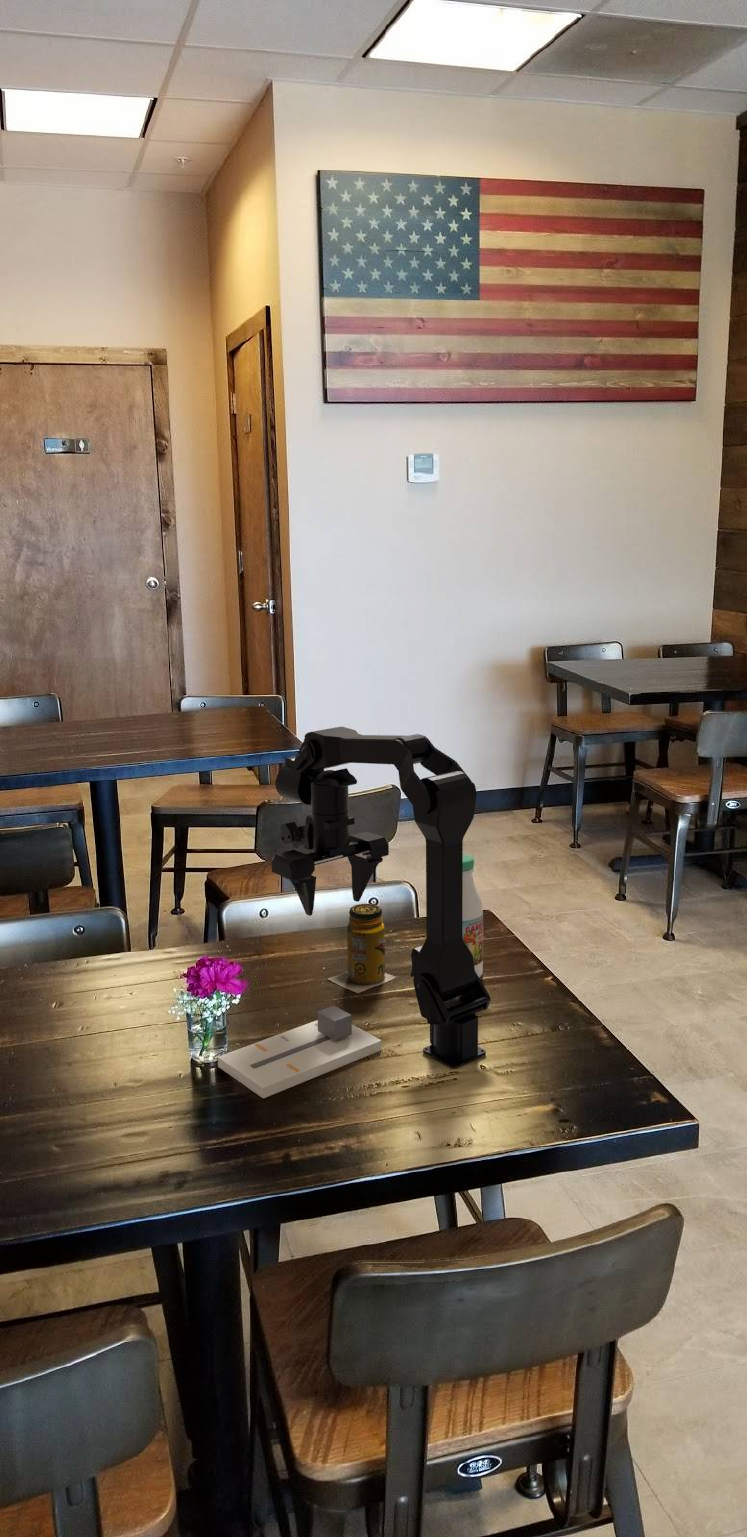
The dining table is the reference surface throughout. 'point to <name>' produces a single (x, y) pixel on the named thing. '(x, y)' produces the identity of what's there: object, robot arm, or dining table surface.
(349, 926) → the condiment
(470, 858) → the milk bottle
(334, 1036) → the fader
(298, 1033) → the console
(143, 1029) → the dining table surface
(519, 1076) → the dining table surface
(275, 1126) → the dining table surface
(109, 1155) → the dining table surface
